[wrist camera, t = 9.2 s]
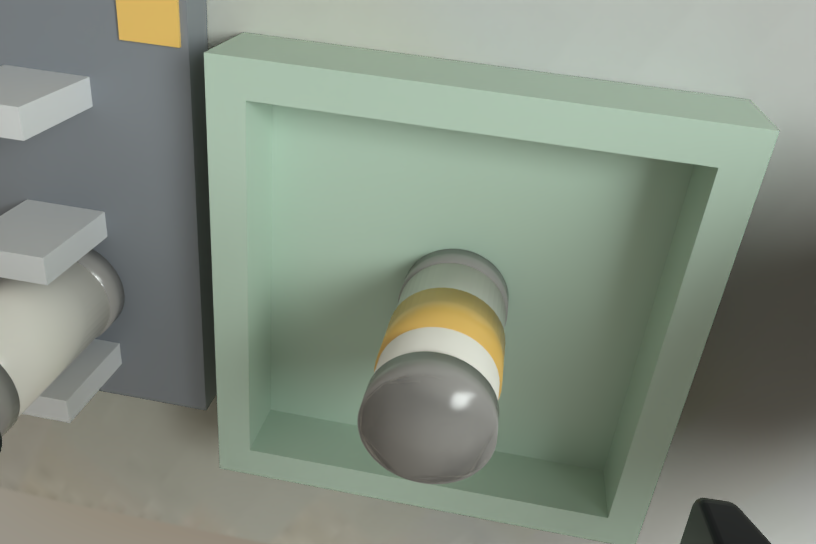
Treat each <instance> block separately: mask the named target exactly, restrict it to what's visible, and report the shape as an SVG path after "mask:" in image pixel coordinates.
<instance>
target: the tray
mask: <svg viewBox="0 0 816 544" xmlns="http://www.w3.org/2000/svg"><path fill="white" fill-rule="evenodd" d="M204 72H205V99H206V125H207V151H208V177H209V203H210V229H211V255H212V281H213V307H214V333H215V359H216V385H217V411H218V437H219V463H220V468H221V469H226V470H231V471H237V472H242V473H247V474H252V475H257V476H263V477H268V478H273V479H278V480H283V481H288V482H294V483H299V484H304V485H309V486H314V487H320V488H325V489H330V490H335V491H340V492H345V493H351V494H356V495H361V496H366V497H371V498H377V499H382V500H387V501H392V502H397V503H402V504H408V505H413V506H418V507H423V508H428V509H434V510H439V511H444V512H449V513H454V514H459V515H465V516H470V517H475V518H480V519H485V520H491V521H496V522H501V523H506V524H511V525H516V526H522V527H527V528H532V529H537V530H542V531H548V532H553V533H558V534H563V535H568V536H573V537H579V538H584V539H589V540H594V541H599V542H605V543H610V544H636V542H637V539H638V536H639V533H640V530H641V527H642V525H643V522H644V519H645V516H646V513H647V510H648V507H649V504H650V502H651V499H652V496H653V493H654V490H655V487H656V484H657V482H658V479H659V476H660V473H661V470H662V467H663V464H664V461H665V459H666V456H667V453H668V450H669V447H670V444H671V441H672V439H673V436H674V433H675V430H676V427H677V424H678V421H679V418H680V416H681V413H682V410H683V407H684V404H685V401H686V398H687V396H688V393H689V390H690V387H691V384H692V381H693V378H694V375H695V373H696V370H697V367H698V364H699V361H700V358H701V355H702V352H703V350H704V347H705V344H706V341H707V338H708V335H709V332H710V330H711V327H712V324H713V321H714V318H715V315H716V312H717V309H718V307H719V304H720V301H721V298H722V295H723V292H724V289H725V287H726V284H727V281H728V278H729V275H730V272H731V269H732V266H733V264H734V261H735V258H736V255H737V252H738V249H739V246H740V244H741V241H742V238H743V235H744V232H745V229H746V226H747V223H748V221H749V218H750V215H751V212H752V209H753V206H754V203H755V200H756V198H757V195H758V192H759V189H760V186H761V183H762V180H763V178H764V175H765V172H766V169H767V166H768V163H769V160H770V157H771V155H772V152H773V149H774V146H775V143H776V140H777V137H778V135H779V132H780V131H779V130H778V129H777V128H776V126H775V125H774V124H773V123H772V122H771V121H770V120H769V119H768V118H767V117H766V116H765V115H764V114H763V113H762V112H761V111H760V110H759V108H758V107H757V106H756V105H755V104H754V103H753V102H752V101H751V100H748V99H741V98H733V97H726V96H718V95H711V94H703V93H695V92H688V91H680V90H673V89H665V88H658V87H650V86H643V85H635V84H628V83H620V82H613V81H605V80H598V79H590V78H583V77H575V76H568V75H560V74H552V73H545V72H537V71H530V70H522V69H515V68H507V67H500V66H492V65H485V64H477V63H470V62H462V61H455V60H447V59H440V58H432V57H425V56H417V55H410V54H402V53H394V52H387V51H379V50H372V49H364V48H357V47H349V46H342V45H334V44H327V43H319V42H312V41H304V40H297V39H289V38H282V37H274V36H267V35H259V34H252V33H244V32H243V33H241V34H239V35H237V36H235V37H233V38H231V39H229V40H227V41H225V42H223V43H221V44H219V45H217V46H215V47H213V48H212V49H210V50H208V51H206V52H204ZM453 248H455V249H463V250H468V251H471V252H474V253H477V254H479V255H481V256H483V257H484V258H486V259H487V260H489V261H490V262H491V263H492V264H494V265H495V266H496V268H497V269H498V270H499V271H500V273H501V274H502V276H503V277H504V279H505V282H506V284H507V288H508V293H509V303H508V315H507V321H506V325H505V329H504V332H505V341H506V344H505V356H504V368H503V380H502V390H501V394H500V398H499V400H498V404H499V423H498V435H497V444H496V447H495V451H494V453H493V455H492V457H491V458H490V460H489V461H488V463H487V464H486V465H485V466H484V467H483V468H482V469H481V470H479V471H478V472H477V473H475V474H474V475H472V476H470V477H468V478H466V479H463V480H460V481H457V482H453V483H447V484H425V483H418V482H414V481H410V480H407V479H404V478H402V477H400V476H397V475H395V474H393V473H392V472H390V471H388V470H387V469H385V468H384V467H382V466H381V465H380V464H379V463H378V462H377V461H375V460H374V459H373V457H372V456H371V455H370V454H369V453H368V451H367V450H366V448H365V447H364V445H363V443H362V441H361V438H360V435H359V431H358V425H357V418H358V412H359V409H360V406H361V403H362V400H363V397H364V394H365V391H366V389H367V386H368V383H369V381H370V379H371V377H372V376H373V374H374V367H375V362H376V359H377V356H378V353H379V350H380V347H381V344H382V341H383V339H384V336H385V333H386V330H387V327H388V324H389V322H390V319H391V316H392V314H393V312H394V311H395V309H396V308H397V305H398V298H399V294H400V291H401V288H402V285H403V283H404V280H405V277H406V275H407V273H408V271H409V270H410V268H411V267H412V266H413V264H414V263H415V262H416V261H418V260H419V259H420V258H422V257H423V256H425V255H427V254H429V253H431V252H434V251H437V250H441V249H453Z"/></svg>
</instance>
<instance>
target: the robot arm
mask: <svg viewBox="0 0 816 544" xmlns="http://www.w3.org/2000/svg"><path fill="white" fill-rule="evenodd" d="M1 447H2V436H1V432H0V451H1ZM680 544H771V543H770V542H769V541H768V539H767V538H766V537H765V536H764V535H763V534H762V533H761V532H760V531H759V530H758V528H757V527H756V526H755V525H754V524H753V523H752V522H751V521H750V520H749V518H748V517H747V516H746V515H745V514H744V513H743V512H742V511H741V510H740V509H739V508H738V507H737V506H736V505H735V504H733V503H731V502H728V501H721V500H715V499H708V498H700V499H697V500H696V501H695V503H694V504H693V506H692V509H691V512H690V515H689V518H688V521H687V525H686V528H685V531H684V534H683V537H682V540H681V543H680Z"/></svg>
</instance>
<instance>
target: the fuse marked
mask: <svg viewBox="0 0 816 544" xmlns="http://www.w3.org/2000/svg"><path fill="white" fill-rule="evenodd" d="M508 303H509V293H508V288H507V284H506V282H505V279H504V277H503V276H502V274H501V273H500V271H499V270H498V269H497V268H496V266H495V265H494V264H492V263H491V262H490V261H489V260H487V259H486V258H484V257H483V256H481V255H479V254H477V253H474V252H471V251H468V250H463V249H455V248H453V249H441V250H437V251H434V252H431V253H429V254H427V255H425V256H423V257H422V258H420V259H419V260H418V261H416V262H415V263H414V264H413V266H412V267H411V268H410V270H409V271H408V273H407V275H406V277H405V280H404V283H403V285H402V288H401V291H400V294H399V298H398V305H397V308H396V309H395V311H394V312H393V314H392V316H391V319H390V322H389V324H388V327H387V330H386V333H385V336H384V339H383V341H382V344H381V347H380V350H379V353H378V356H377V359H376V362H375V367H374V374H373V376H372V377H371V379H370V381H369V383H368V386H367V389H366V391H365V394H364V397H363V400H362V403H361V406H360V409H359V412H358V418H357V425H358V431H359V435H360V438H361V441H362V443H363V445H364V447H365V448H366V450H367V451H368V453H369V454H370V455H371V456H372V457H373V459H374V460H375V461H377V462H378V463H379V464H380V465H381V466H382V467H384V468H385V469H387V470H388V471H390V472H392V473H393V474H395V475H397V476H400V477H402V478H404V479H407V480H410V481H414V482H418V483H425V484H447V483H453V482H457V481H460V480H463V479H466V478H468V477H470V476H472V475H474V474H475V473H477V472H478V471H479V470H481V469H482V468H483V467H484V466H485V465H486V464H487V463H488V461H489V460H490V458H491V457H492V455H493V453H494V451H495V447H496V444H497V435H498V423H499V404H498V400H499V398H500V394H501V390H502V380H503V368H504V356H505V344H506V341H505V332H504V329H505V325H506V321H507V315H508Z"/></svg>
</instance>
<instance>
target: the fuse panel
mask: <svg viewBox="0 0 816 544" xmlns="http://www.w3.org/2000/svg"><path fill="white" fill-rule="evenodd" d="M206 51H208V38H207V10H206V0H0V278H8V279H13V280H19V281H25V282H31V283H37V284H43V285H49V284H50V283H51V282H52V281H54V280H55V279H56V278H57V277H58V276H60V275H61V274H62V273H63V272H65V271H66V270H67V269H68V268H69V267H71V266H72V265H73V264H74V263H76V262H77V261H78V260H79V259H81V258H82V257H83V256H84V255H85V254H87V253H88V252H89V251H90V250H92V249H93V250H95V251H96V252H98V253H99V254H101V255H102V256H103V257H104V258H105V259H106V260H107V261H108V262H109V263H110V264H111V265H112V266H113V268H114V269H115V270H116V272H117V274H118V275H119V277H120V280H121V282H122V285H123V288H124V294H125V302H124V307H123V310H122V312H121V314H120V316H119V317H118V318H117V319H116V320H115V321H114V322H113V323H112V324H111V325H110V326H109V328H108V329H107V330H106V331H105V332H104V333H103V334H101V335H100V336H99V337H97V338H95V339H94V340H93V341H92V342H91V343H90V345H89V346H88V347H87V348H86V349H85V350H84V351H83V352H82V353H81V354H80V355H79V356H78V357H77V358H76V359H75V360H74V361H73V362H72V363H71V364H70V365H69V366H68V367H67V368H66V369H65V370H64V371H63V372H62V373H61V374H60V375H59V376H58V377H57V378H56V379H55V380H54V381H53V382H52V383H51V384H50V385H49V386H48V387H47V388H46V389H45V390H44V391H43V392H42V393H41V395H40V396H39V397H38V398H37V399H36V400H35V401H34V402H33V403H32V404H31V405H30V406H29V407H28V408H27V409H26V410H25V411H24V412H23V413H22V414H25V415H30V416H36V417H41V418H46V419H51V420H57V421H62V422H67V423H70V422H71V421H72V420H73V419H74V418H75V417H76V416H77V414H78V413H79V412H80V411H81V410H82V409H83V408H84V406H85V405H86V404H87V403H88V402H89V401H90V400H91V398H92V397H93V396H94V395H95V394H96V393H97V392H98V390H99V391H104V392H110V393H115V394H120V395H126V396H131V397H137V398H142V399H147V400H153V401H158V402H163V403H169V404H174V405H180V406H185V407H190V408H196V409H201V410H207V408H208V407H209V405H210V403H211V402H212V400H213V399H214V397H215V396H216V394H217V385H216V359H215V333H214V307H213V281H212V255H211V229H210V203H209V177H208V151H207V125H206V99H205V72H204V52H206Z"/></svg>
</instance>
